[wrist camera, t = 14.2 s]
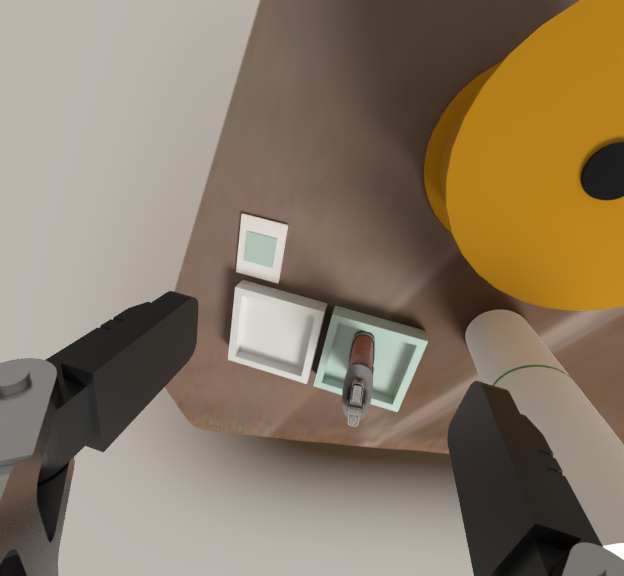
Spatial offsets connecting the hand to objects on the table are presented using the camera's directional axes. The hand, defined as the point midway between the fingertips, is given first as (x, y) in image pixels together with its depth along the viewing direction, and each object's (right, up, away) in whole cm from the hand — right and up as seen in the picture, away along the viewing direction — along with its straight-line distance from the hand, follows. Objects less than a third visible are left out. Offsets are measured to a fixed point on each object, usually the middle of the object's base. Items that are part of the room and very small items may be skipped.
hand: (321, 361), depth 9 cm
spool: (+20, +15, +23) cm, 34 cm away
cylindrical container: (+22, -4, +30) cm, 38 cm away
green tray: (+7, -7, +35) cm, 36 cm away
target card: (-7, +7, +32) cm, 34 cm away
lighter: (+6, -7, +34) cm, 36 cm away
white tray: (-5, -4, +37) cm, 37 cm away
